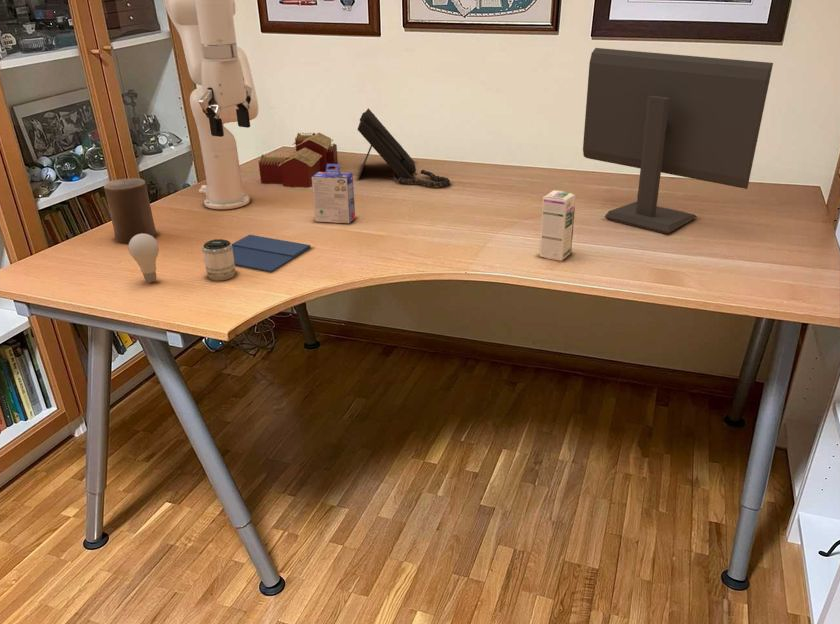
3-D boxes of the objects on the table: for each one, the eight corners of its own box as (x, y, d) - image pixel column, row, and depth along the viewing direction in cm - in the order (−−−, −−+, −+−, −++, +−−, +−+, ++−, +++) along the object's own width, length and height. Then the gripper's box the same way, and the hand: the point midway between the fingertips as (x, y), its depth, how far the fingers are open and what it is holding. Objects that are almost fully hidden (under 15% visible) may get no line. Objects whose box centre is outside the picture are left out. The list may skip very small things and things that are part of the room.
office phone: (450, 188, 211) (450, 118, 201) (355, 189, 212) (351, 119, 202) (447, 162, 237) (448, 99, 227) (363, 163, 237) (360, 100, 227)
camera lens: (210, 270, 160) (204, 237, 156) (238, 269, 160) (233, 236, 156) (204, 281, 154) (198, 248, 150) (233, 280, 155) (228, 247, 151)
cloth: (207, 260, 165) (207, 256, 165) (249, 237, 178) (249, 234, 177) (271, 272, 158) (270, 269, 158) (310, 248, 171) (310, 245, 171)
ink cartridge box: (356, 217, 190) (353, 163, 183) (350, 224, 185) (347, 169, 178) (321, 215, 192) (316, 161, 185) (314, 222, 187) (309, 167, 180)
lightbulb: (140, 277, 157) (129, 230, 152) (168, 275, 157) (159, 228, 152) (133, 288, 152) (122, 240, 146) (162, 287, 152) (152, 238, 147)
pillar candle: (141, 245, 174) (127, 185, 167) (107, 241, 177) (93, 182, 169) (164, 231, 182) (152, 174, 175) (132, 228, 185) (119, 171, 177)
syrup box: (562, 261, 161) (567, 199, 154) (538, 256, 164) (542, 195, 157) (571, 253, 166) (577, 192, 158) (547, 248, 168) (552, 189, 161)
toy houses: (318, 187, 214) (316, 153, 209) (253, 185, 217) (249, 152, 212) (350, 150, 253) (348, 120, 248) (294, 149, 255) (291, 120, 250)
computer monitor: (746, 230, 178) (785, 59, 158) (719, 248, 167) (757, 67, 148) (593, 195, 204) (610, 44, 184) (562, 209, 193) (576, 51, 174)
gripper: (231, 46, 165) (241, 122, 173) (180, 56, 151) (193, 138, 160) (257, 48, 162) (266, 125, 170) (207, 58, 148) (220, 141, 157)
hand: (231, 131), depth 165 cm, fingers open, 9 cm apart
